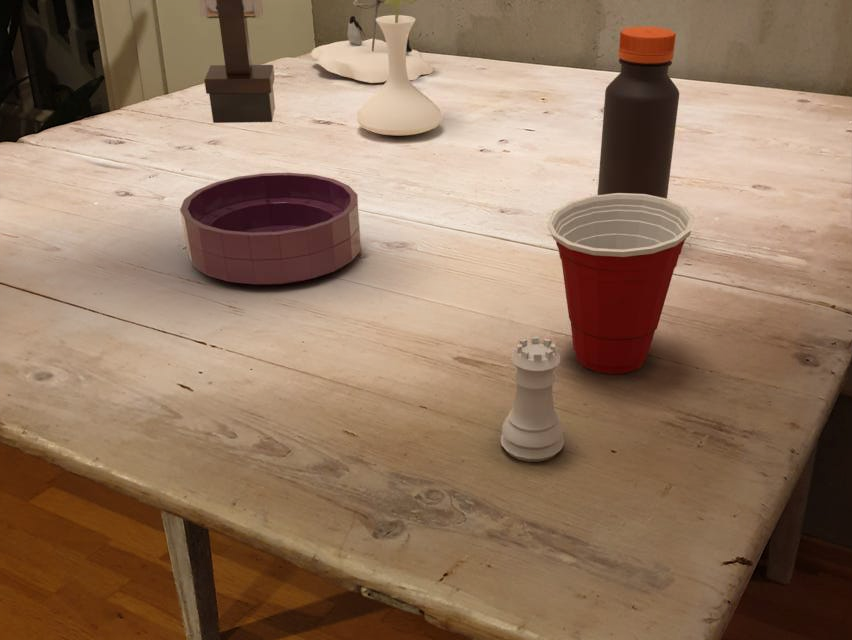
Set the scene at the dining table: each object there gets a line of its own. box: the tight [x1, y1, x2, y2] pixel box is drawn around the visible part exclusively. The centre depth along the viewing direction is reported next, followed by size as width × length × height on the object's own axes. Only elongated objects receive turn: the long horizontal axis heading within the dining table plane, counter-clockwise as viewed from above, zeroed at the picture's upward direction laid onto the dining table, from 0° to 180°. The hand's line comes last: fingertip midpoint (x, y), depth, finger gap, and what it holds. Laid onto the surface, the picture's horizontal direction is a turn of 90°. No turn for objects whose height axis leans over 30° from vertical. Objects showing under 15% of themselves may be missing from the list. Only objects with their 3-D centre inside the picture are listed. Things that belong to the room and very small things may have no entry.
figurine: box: [309, 0, 434, 84], centre depth 151 cm, size 20×18×16 cm
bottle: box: [596, 26, 680, 199], centre depth 92 cm, size 7×7×20 cm
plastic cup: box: [546, 193, 695, 375], centre depth 75 cm, size 11×11×12 cm
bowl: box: [179, 172, 362, 286], centre depth 93 cm, size 16×16×6 cm
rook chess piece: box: [500, 336, 565, 463], centre depth 65 cm, size 4×4×8 cm
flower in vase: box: [355, 0, 444, 136], centre depth 122 cm, size 13×11×25 cm
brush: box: [203, 0, 276, 124], centre depth 81 cm, size 5×4×13 cm
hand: (232, 17), depth 80 cm, fingers closed on brush, 2 cm apart
